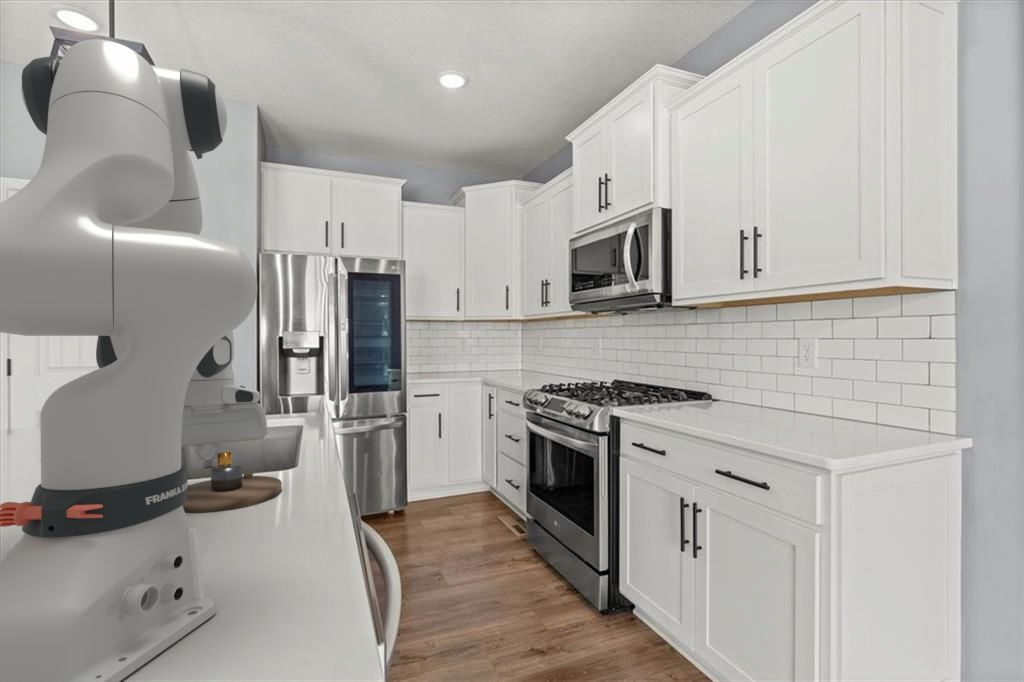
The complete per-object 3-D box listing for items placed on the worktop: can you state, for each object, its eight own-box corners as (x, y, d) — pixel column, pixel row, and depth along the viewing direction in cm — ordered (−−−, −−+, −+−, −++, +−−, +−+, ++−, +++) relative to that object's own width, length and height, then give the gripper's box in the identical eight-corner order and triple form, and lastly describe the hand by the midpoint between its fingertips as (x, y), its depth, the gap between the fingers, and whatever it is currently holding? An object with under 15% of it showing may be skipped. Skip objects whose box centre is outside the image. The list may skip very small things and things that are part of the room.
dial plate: (254, 511, 85) (254, 497, 85) (142, 514, 85) (142, 499, 85) (296, 482, 103) (296, 470, 103) (204, 484, 103) (204, 473, 103)
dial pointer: (243, 487, 93) (243, 458, 93) (211, 492, 91) (211, 462, 91) (239, 476, 102) (238, 449, 102) (209, 479, 99) (209, 452, 99)
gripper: (139, 399, 90) (139, 479, 90) (268, 392, 101) (268, 464, 101) (141, 396, 96) (142, 472, 96) (264, 390, 107) (264, 458, 106)
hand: (208, 467), depth 98 cm, fingers closed
